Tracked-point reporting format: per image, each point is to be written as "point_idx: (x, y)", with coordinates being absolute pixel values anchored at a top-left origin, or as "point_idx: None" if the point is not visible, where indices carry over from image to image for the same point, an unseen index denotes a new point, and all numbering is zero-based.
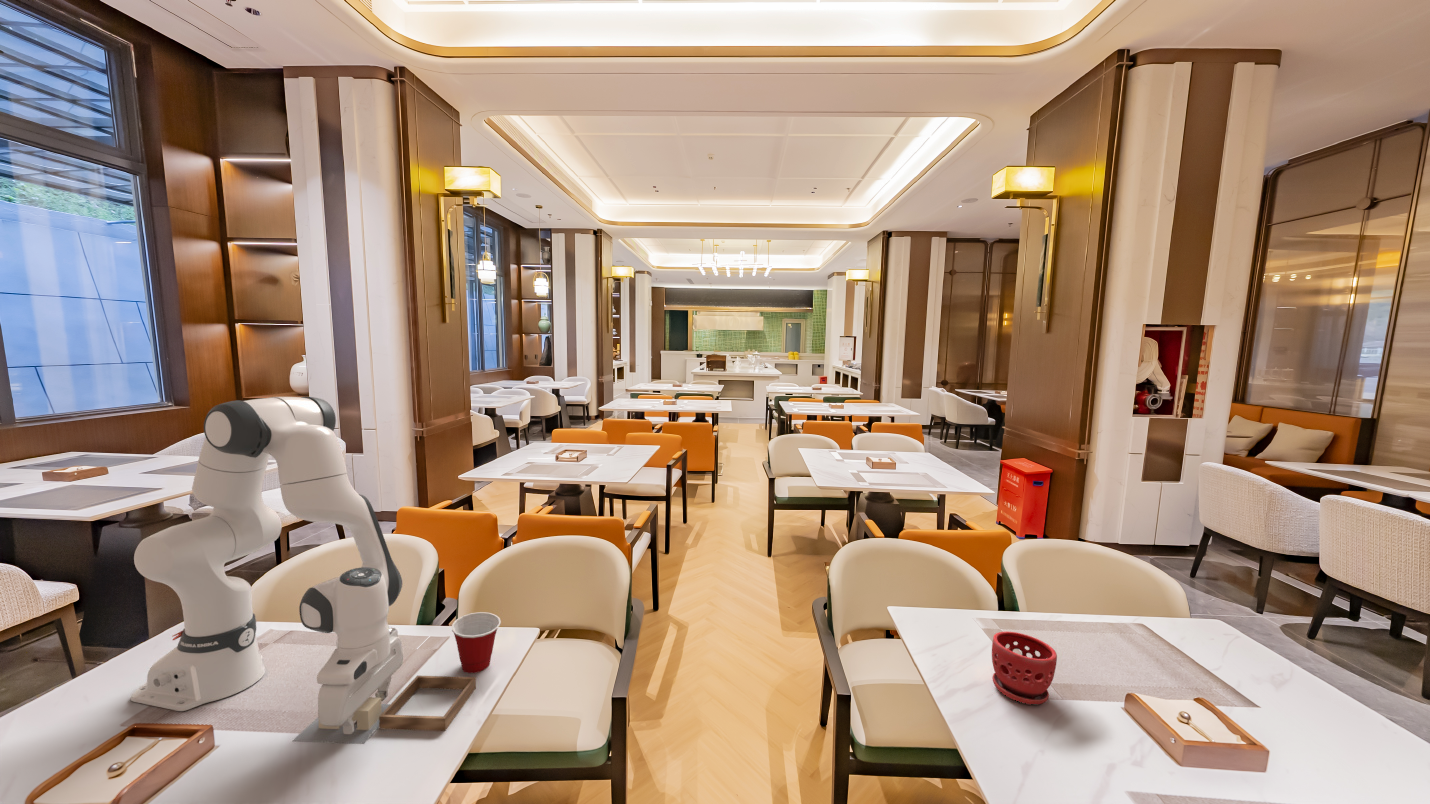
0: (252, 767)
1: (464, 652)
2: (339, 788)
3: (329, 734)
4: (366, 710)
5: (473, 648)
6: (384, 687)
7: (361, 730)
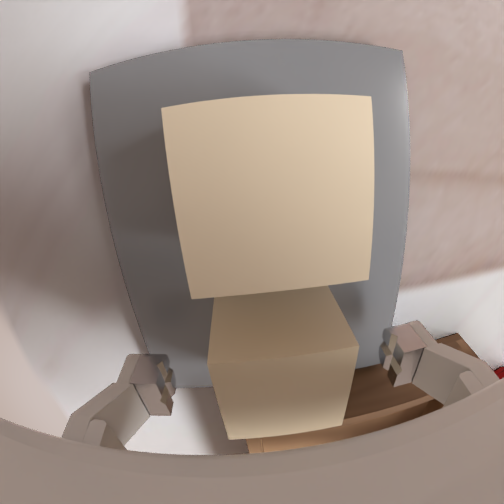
0: (7, 61)
1: None
2: (51, 385)
3: (161, 220)
4: (232, 432)
5: None
6: (428, 380)
7: None
